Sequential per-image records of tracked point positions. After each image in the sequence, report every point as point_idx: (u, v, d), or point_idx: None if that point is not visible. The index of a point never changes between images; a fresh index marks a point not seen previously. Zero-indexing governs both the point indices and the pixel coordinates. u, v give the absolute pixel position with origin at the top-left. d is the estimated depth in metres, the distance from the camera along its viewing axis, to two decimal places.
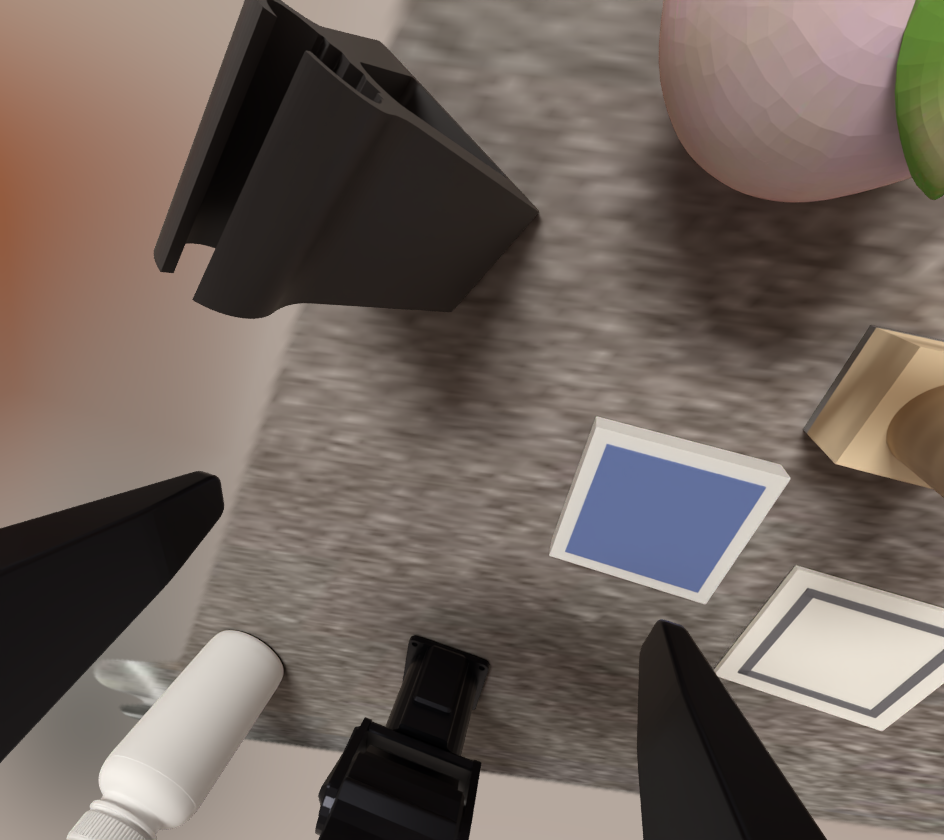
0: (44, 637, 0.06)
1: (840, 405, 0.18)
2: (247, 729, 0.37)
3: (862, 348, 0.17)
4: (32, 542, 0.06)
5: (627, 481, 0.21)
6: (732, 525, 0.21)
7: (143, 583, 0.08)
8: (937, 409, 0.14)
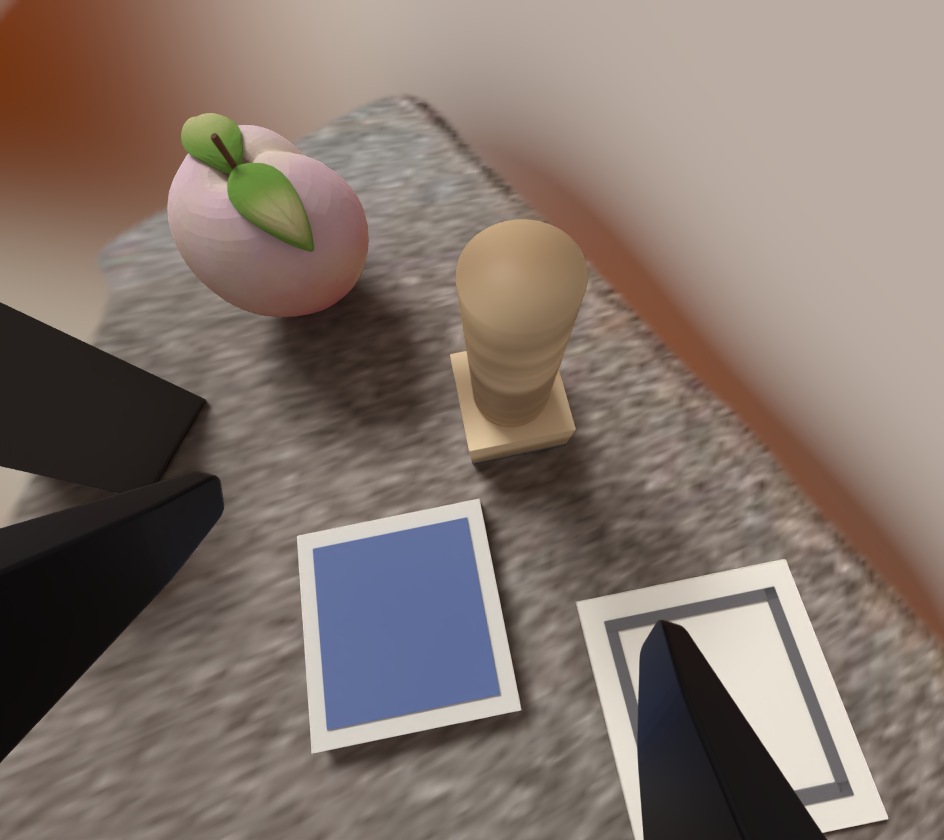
0: (44, 637, 0.06)
1: None
2: None
3: None
4: (32, 542, 0.06)
5: (349, 580, 0.20)
6: (469, 574, 0.19)
7: (143, 583, 0.08)
8: None
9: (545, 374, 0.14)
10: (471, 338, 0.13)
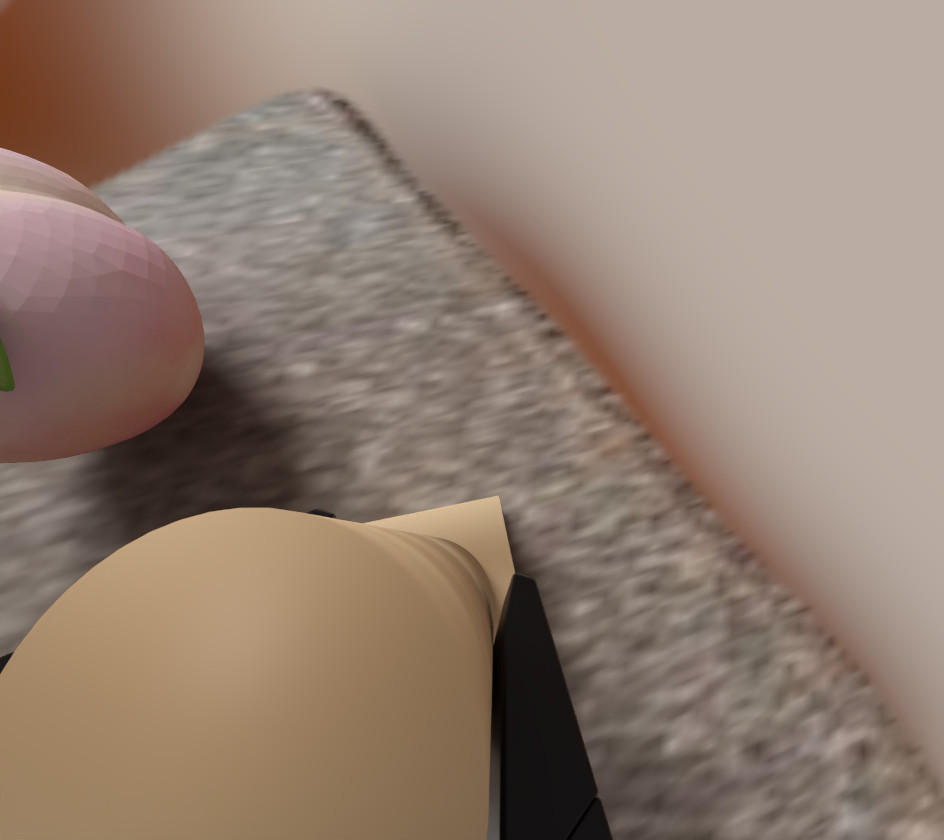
0: None
1: None
2: None
3: None
4: None
5: None
6: None
7: None
8: None
9: None
10: None
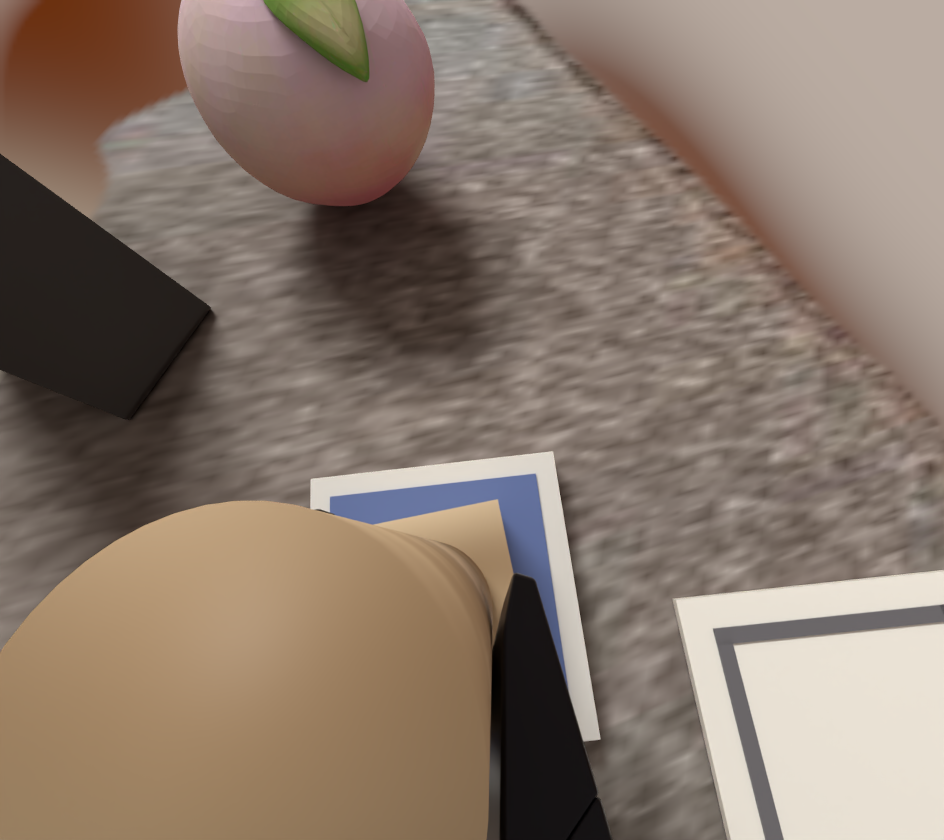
0: None
1: None
2: None
3: None
4: None
5: None
6: (535, 548, 0.14)
7: None
8: None
9: None
10: None
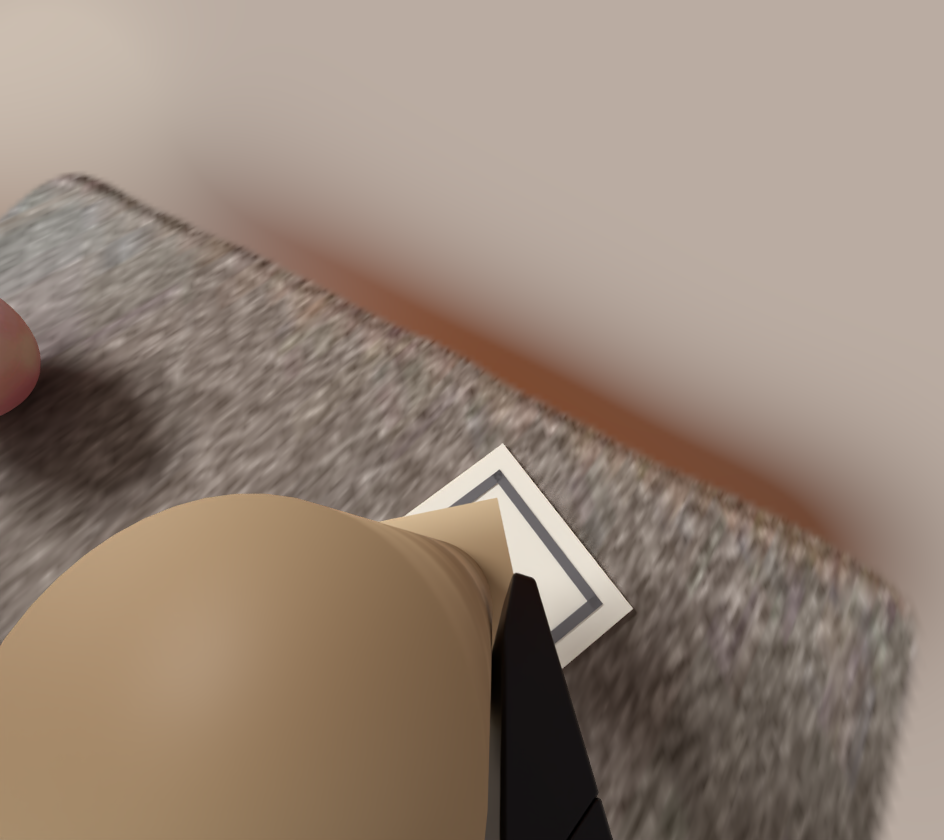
0: None
1: None
2: None
3: None
4: None
5: None
6: None
7: None
8: None
9: None
10: None
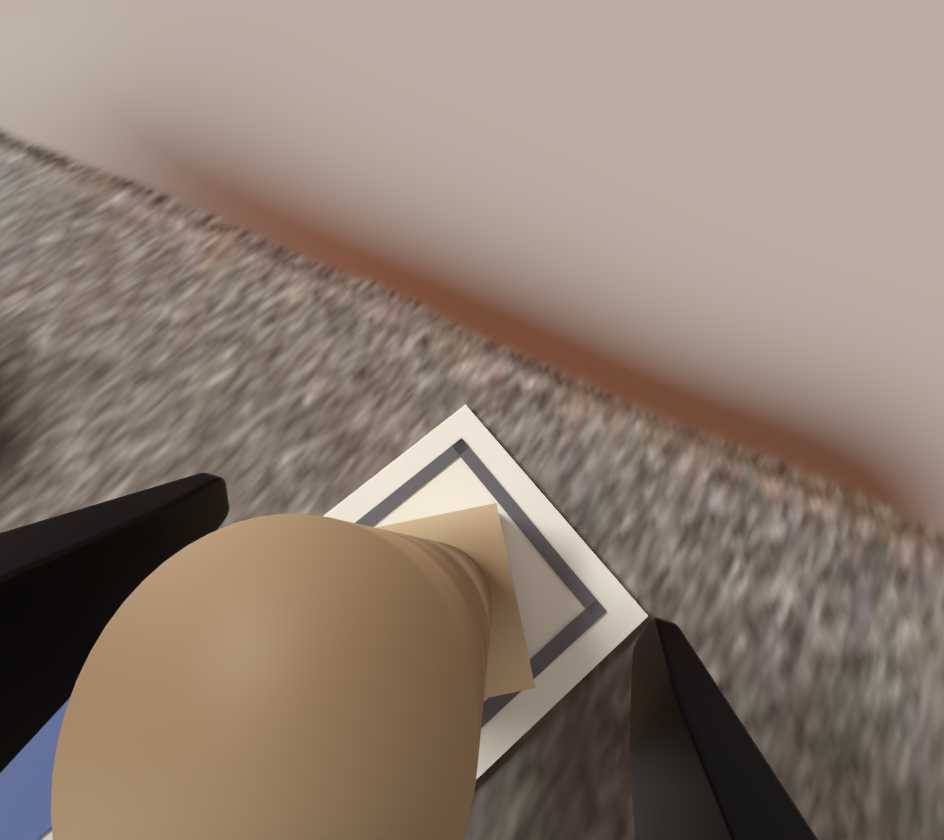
0: (51, 640, 0.06)
1: None
2: None
3: None
4: (39, 545, 0.06)
5: None
6: None
7: None
8: None
9: None
10: None
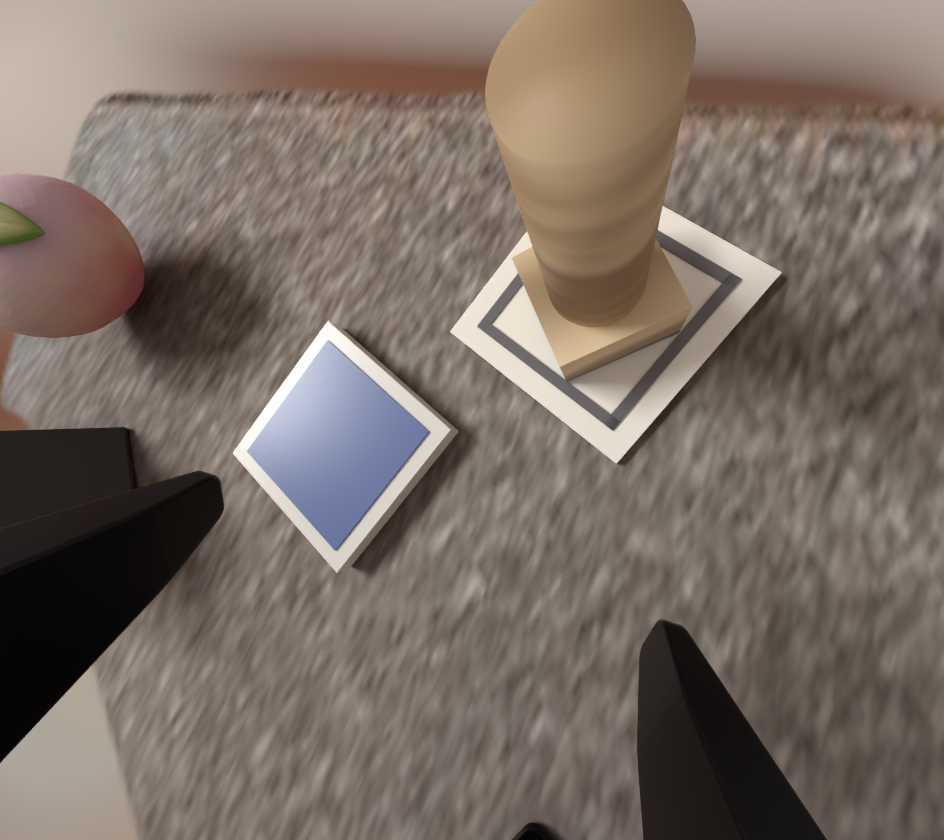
0: (44, 637, 0.06)
1: None
2: None
3: None
4: (32, 542, 0.06)
5: (282, 449, 0.22)
6: (355, 375, 0.21)
7: (143, 583, 0.08)
8: None
9: (643, 231, 0.10)
10: (530, 204, 0.09)
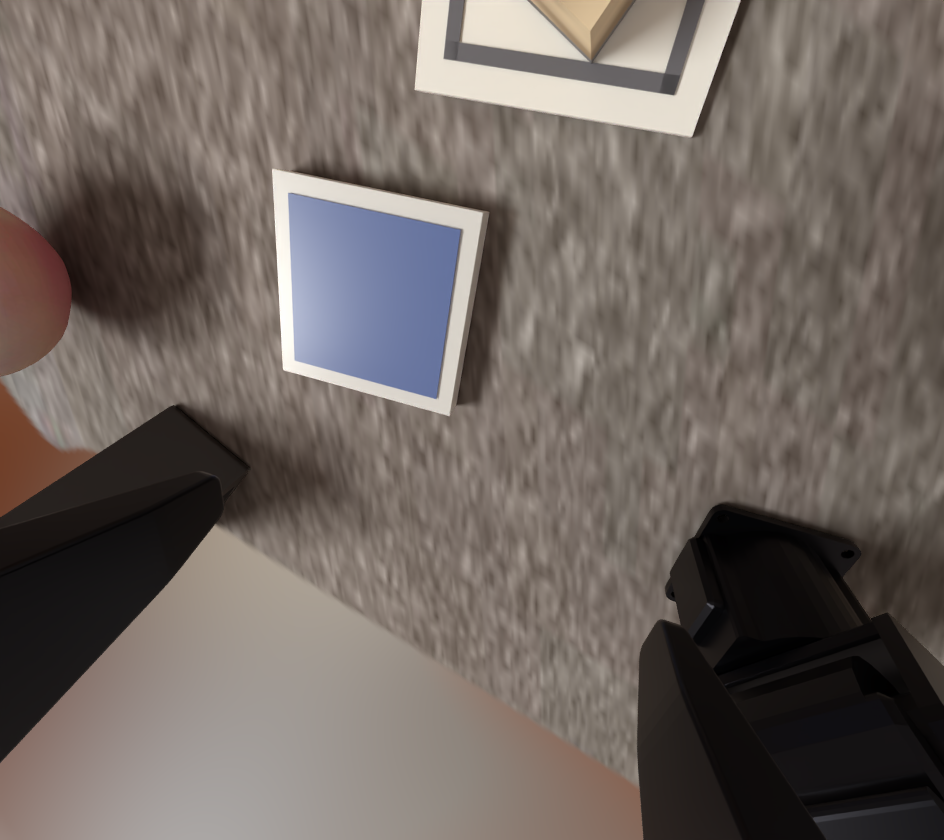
0: (44, 637, 0.06)
1: (545, 7, 0.13)
2: None
3: None
4: (32, 542, 0.06)
5: (326, 338, 0.20)
6: (344, 215, 0.17)
7: (143, 583, 0.08)
8: None
9: None
10: None
